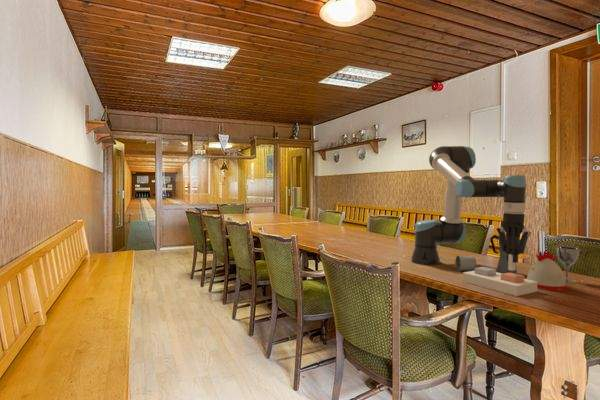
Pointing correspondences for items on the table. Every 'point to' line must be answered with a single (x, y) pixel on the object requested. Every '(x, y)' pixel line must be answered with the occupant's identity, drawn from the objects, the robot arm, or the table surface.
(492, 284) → the panel
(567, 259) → the wine glass
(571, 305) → the table surface
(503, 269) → the moka pot
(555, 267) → the beige red dome
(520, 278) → the pink rounded block
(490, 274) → the grey rounded block
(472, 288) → the table surface
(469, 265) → the grey cylinder
